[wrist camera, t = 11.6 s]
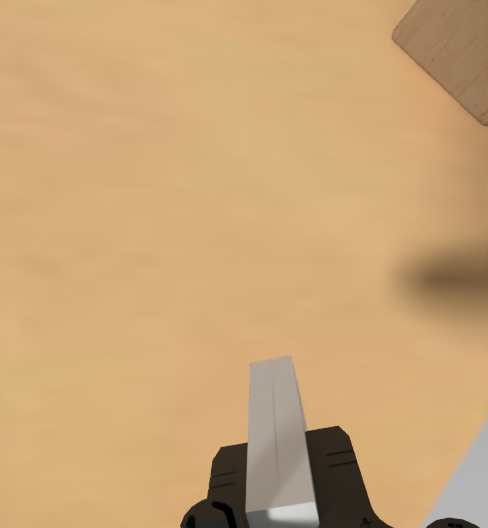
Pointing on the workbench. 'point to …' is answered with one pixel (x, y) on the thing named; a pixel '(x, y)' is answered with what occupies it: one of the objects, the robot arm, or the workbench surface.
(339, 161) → the workbench surface
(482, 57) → the wooden block
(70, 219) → the workbench surface
